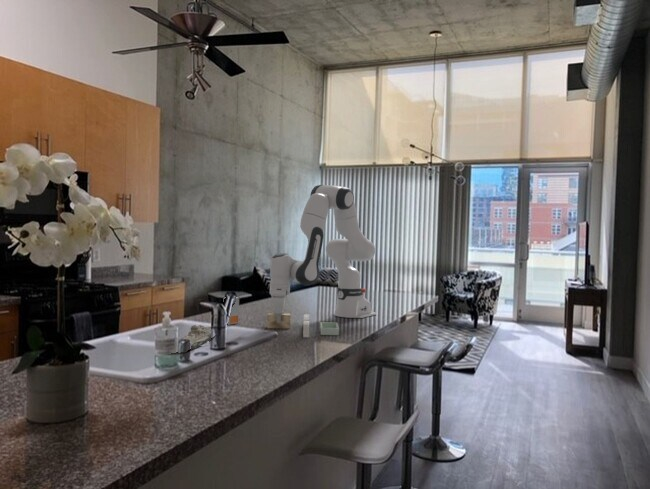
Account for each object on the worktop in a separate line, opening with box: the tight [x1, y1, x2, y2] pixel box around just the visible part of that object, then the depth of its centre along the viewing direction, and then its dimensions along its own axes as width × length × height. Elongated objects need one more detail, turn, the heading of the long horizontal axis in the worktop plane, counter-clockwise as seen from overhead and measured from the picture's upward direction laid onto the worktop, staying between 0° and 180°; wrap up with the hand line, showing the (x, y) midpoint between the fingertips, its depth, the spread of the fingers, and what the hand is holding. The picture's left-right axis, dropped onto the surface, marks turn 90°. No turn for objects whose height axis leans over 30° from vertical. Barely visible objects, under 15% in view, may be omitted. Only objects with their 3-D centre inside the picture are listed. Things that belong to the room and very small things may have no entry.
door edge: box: [302, 313, 310, 338], centre depth 224 cm, size 26×2×5 cm, turn 2°
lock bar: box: [266, 312, 291, 329], centre depth 230 cm, size 10×4×6 cm, turn 92°
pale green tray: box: [319, 321, 340, 336], centre depth 223 cm, size 14×8×3 cm, turn 2°
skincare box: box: [223, 296, 240, 326], centre depth 236 cm, size 6×4×12 cm
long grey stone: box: [180, 324, 212, 350], centre depth 197 cm, size 35×5×10 cm
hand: (279, 321), depth 230 cm, fingers open, 4 cm apart
